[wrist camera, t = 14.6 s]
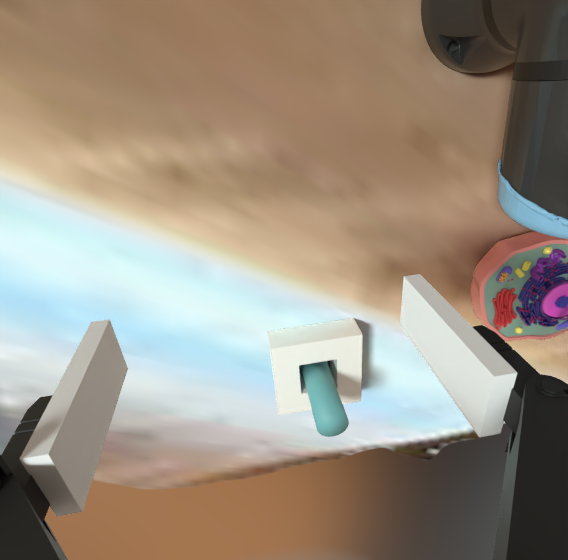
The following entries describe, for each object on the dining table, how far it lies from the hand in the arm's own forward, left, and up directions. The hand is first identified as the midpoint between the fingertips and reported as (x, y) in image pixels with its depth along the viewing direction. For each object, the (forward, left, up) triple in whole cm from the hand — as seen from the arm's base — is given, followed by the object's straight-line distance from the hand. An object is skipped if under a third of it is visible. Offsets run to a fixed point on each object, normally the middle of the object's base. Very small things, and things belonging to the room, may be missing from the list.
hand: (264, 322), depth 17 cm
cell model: (-40, +21, -35) cm, 57 cm away
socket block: (-8, +33, -35) cm, 49 cm away
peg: (-8, +33, -35) cm, 49 cm away
